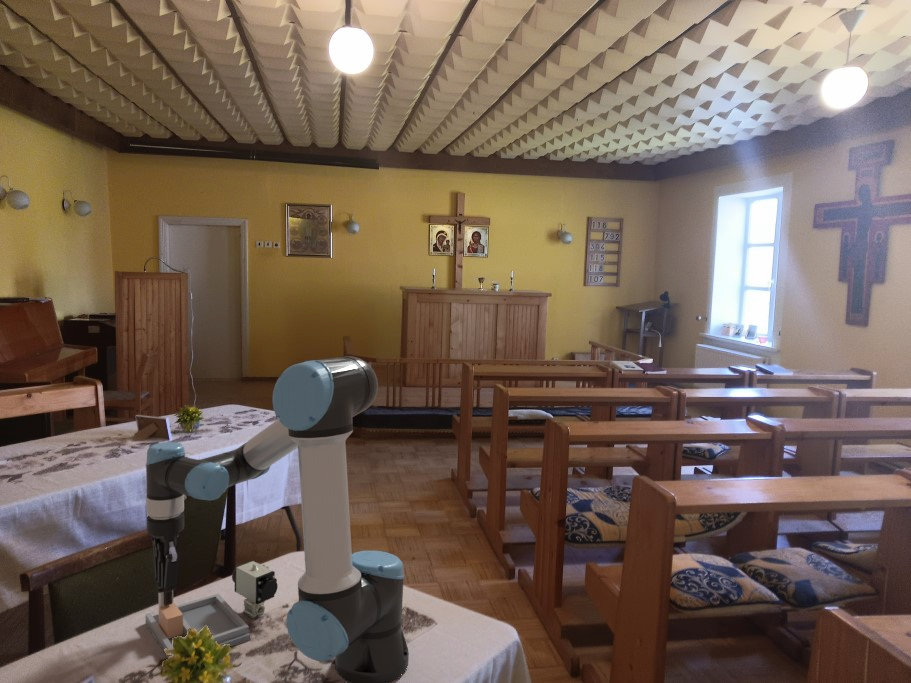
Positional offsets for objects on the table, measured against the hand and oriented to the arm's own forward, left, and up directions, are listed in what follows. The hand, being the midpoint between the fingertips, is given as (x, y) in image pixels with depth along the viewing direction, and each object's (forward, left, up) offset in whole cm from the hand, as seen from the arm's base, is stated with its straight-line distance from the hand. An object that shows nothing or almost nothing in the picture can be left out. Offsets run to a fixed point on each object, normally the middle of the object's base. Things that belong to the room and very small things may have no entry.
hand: (166, 616), depth 140 cm
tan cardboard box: (-4, 0, -2) cm, 4 cm away
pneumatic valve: (-5, -18, -3) cm, 19 cm away
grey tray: (-5, -5, -3) cm, 8 cm away
